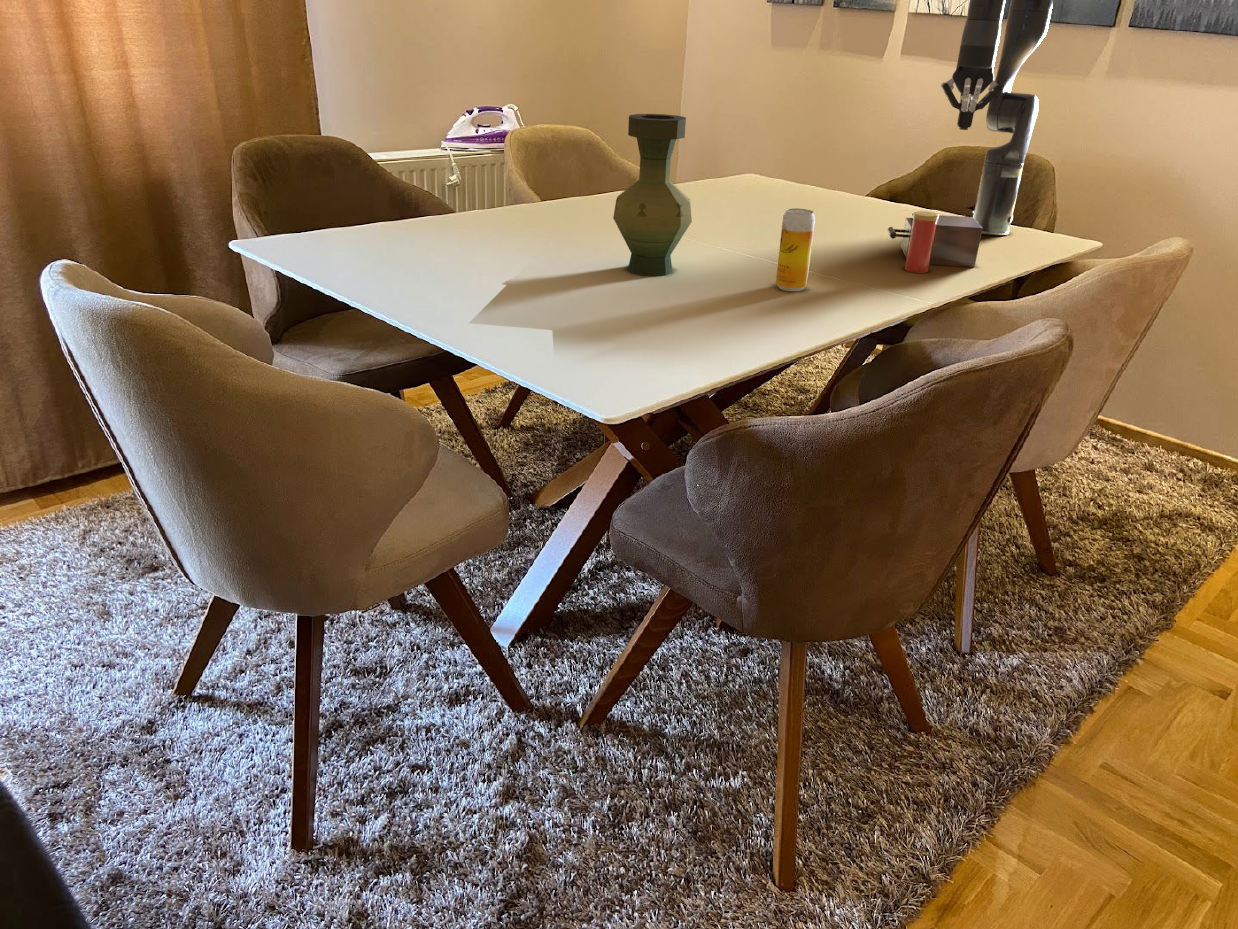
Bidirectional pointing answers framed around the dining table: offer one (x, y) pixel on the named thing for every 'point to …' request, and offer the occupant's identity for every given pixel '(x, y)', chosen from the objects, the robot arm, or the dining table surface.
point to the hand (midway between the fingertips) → (963, 129)
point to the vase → (653, 197)
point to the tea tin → (921, 241)
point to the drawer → (905, 234)
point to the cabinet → (955, 241)
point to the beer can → (795, 249)
